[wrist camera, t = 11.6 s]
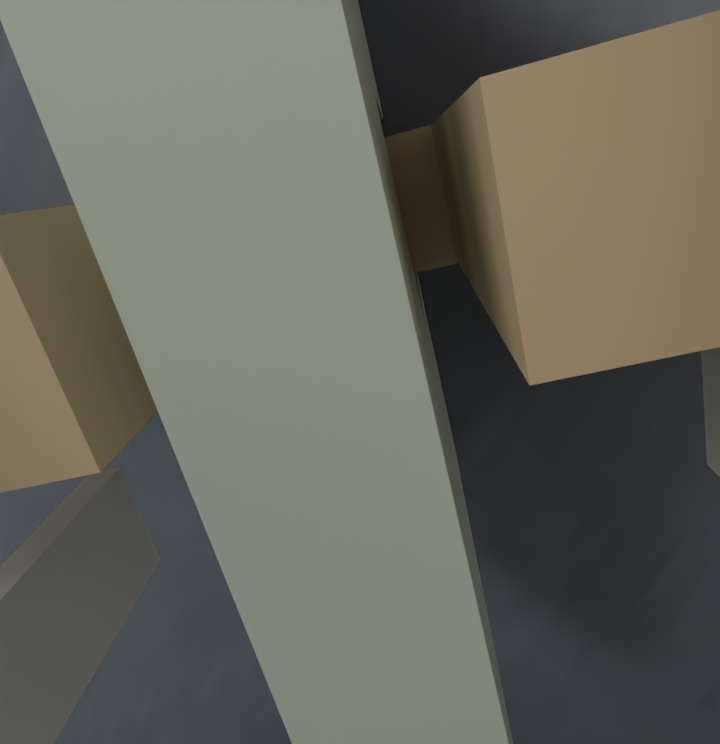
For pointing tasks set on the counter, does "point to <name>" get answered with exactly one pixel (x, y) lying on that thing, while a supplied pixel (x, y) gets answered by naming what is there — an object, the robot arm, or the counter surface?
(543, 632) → the counter surface
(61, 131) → the sage slotted plate
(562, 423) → the counter surface
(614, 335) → the oak slotted board
